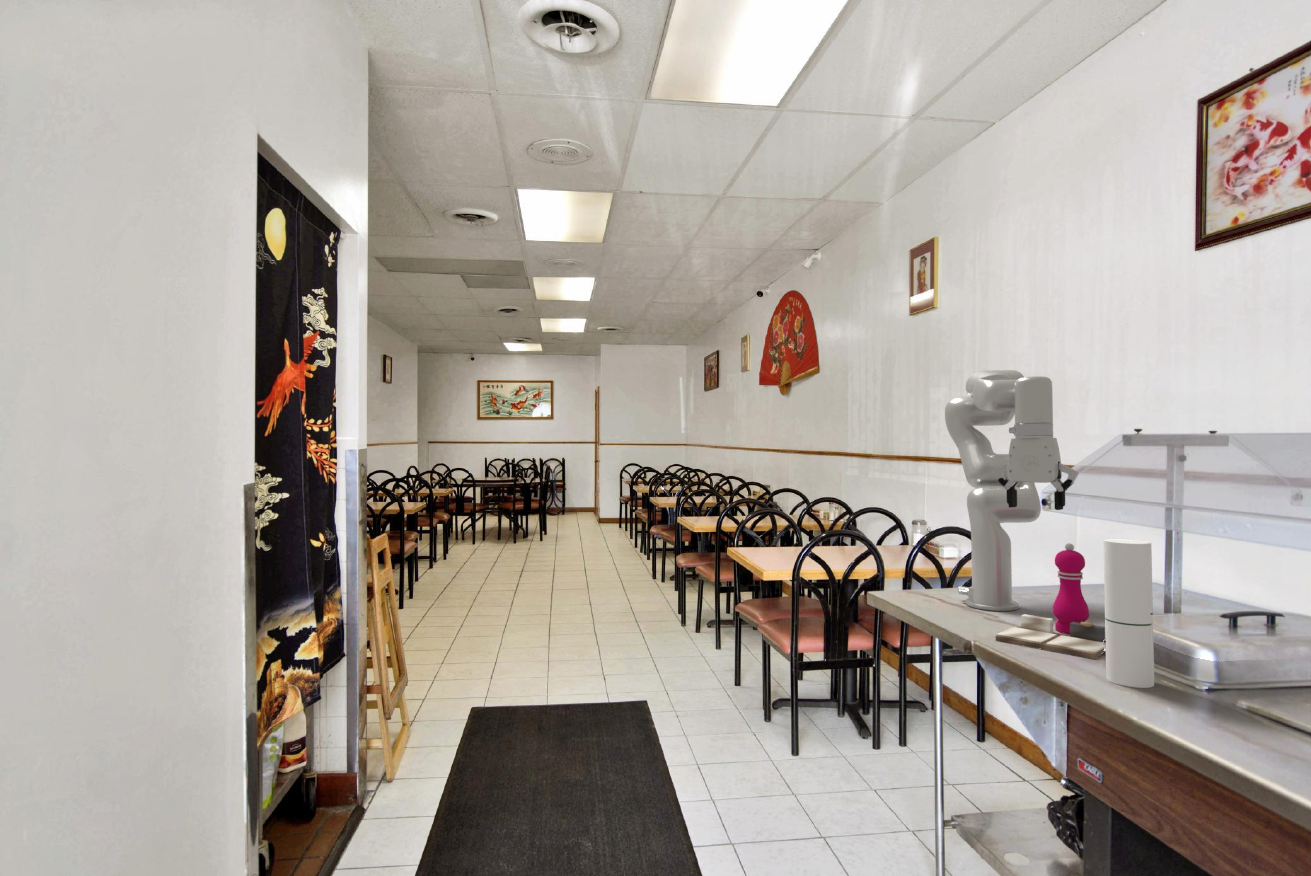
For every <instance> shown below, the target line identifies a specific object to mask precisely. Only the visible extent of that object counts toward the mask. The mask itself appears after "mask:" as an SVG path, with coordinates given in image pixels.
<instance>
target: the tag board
mask: <svg viewBox="0 0 1311 876" xmlns="http://www.w3.org/2000/svg"><path fill="white" fill-rule="evenodd" d="M1104 639H1105V626H1101V625H1095V624H1094V623H1093V622H1089V621H1088V622H1087V621H1085V622H1081V623H1076V622H1072V623H1070V634H1065V633H1061V632H1059V633H1058V632H1054V618H1051V617H1044V616H1039V615H1038V616H1037V615H1032V614H1025V613H1024V614H1022V615H1020V626H1012V627H1009V628H1007V629H1005V630H1003V631H1001V632H998V633H996V634H995V641H996V640H998V641H997V642H1003V643H1007V644H1012V643H1014V644H1013V645H1017V644H1018V645H1017V646H1022V645H1024V647H1027V646H1028V648H1029V647H1030V648H1033V647H1034V648H1033V649H1038V648H1041V649H1040V650H1043V649H1045V650H1044V651H1048V650H1051V651H1050V652H1054V651H1055V652H1054V653H1059V652H1061V653H1060V654H1064V653H1066V654H1065V655H1069V654H1070V656H1074V655H1076V657H1081V658H1085V657H1088V658H1087V659H1090V658H1092V659H1091V660H1096V659H1097V658H1099V657H1100V656H1099V655H1101V653H1102V652H1103V650H1104V647H1105V646H1103V645H1102V644H1101V643H1102V642H1103V640H1104ZM1098 656H1099V657H1098ZM1101 656H1102V655H1101ZM1096 657H1097V658H1096Z"/></svg>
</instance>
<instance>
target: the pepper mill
mask: <svg viewBox="0 0 1311 876" xmlns="http://www.w3.org/2000/svg"><path fill="white" fill-rule="evenodd" d="M1054 565H1055V567H1056V568H1057V569H1058V571H1057V577H1058V578H1059V590H1058V593H1057V595H1056V597H1055V600H1054V602H1053V605H1052V614H1053V616H1054V617H1055V618H1056V619H1057V620H1056V621H1055V624H1054V626H1055V627H1054V629H1055V631H1056V632H1057V633H1058V632H1059V633H1060V634H1065V633H1066V635H1070V623H1072V622H1076V623H1081V622H1087V620H1089V618H1090V609H1089V605H1088V603H1087V601H1086V600H1085V598H1084V595H1083V593H1082V586H1081V583H1082V580H1083V579H1084V577H1083V575H1084V573H1083V572H1082V571H1083V569H1085V566H1086V559H1085V556H1084V555H1083V554H1082V553H1080V552H1078V551H1076V550H1075V546H1074V545H1073V544H1072V543H1069V542H1068V543H1066V544H1065V546H1064V550H1061V551H1059V552H1057V554H1056V555H1055V557H1054Z"/></svg>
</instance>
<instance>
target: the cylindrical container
mask: <svg viewBox="0 0 1311 876" xmlns="http://www.w3.org/2000/svg"><path fill="white" fill-rule="evenodd" d="M1102 543H1103V580H1104V581H1103V584H1104V587H1103V589H1104V591H1103V592H1104V622H1105V623H1104V627H1105V641H1106V652H1105V676H1106V679H1107V681H1109V682H1110V683H1113V684H1116V685H1119V686H1123V687H1129V688H1136V689H1137V688H1138V689H1148V688H1153V687H1154V686H1155V655H1154V654H1155V652H1154V649H1155V648H1154V647H1155V646H1154V606H1153V605H1154V604H1153V603H1154V602H1153V600H1154V599H1153V564H1152V563H1153V562H1152V559H1153V556H1152V554H1153V553H1152V542H1151V541H1150V540H1149V541H1148V540H1144V539H1143V540H1142V539H1130V538H1103V542H1102Z"/></svg>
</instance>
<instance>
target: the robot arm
mask: <svg viewBox="0 0 1311 876" xmlns="http://www.w3.org/2000/svg"><path fill="white" fill-rule="evenodd" d="M965 391H966V393H967V395H968V396H967V395H966V396H958V397H956V398H952V399H950V400H949V401H948V402H947V403H946V405H945V408H944V420H945V421H944V422H945V425H946V429H947V431H948V433H949V436H950V438H951V440H952V442H953V443H954V444H955V446H956V448H957V449H958V452H959V453H958V454H959V458H960V461H961V465H962V469H963V472H964V476H965V479H966V481H967V483H968V485H969V486H971V487H972V488H973V489H971V490H970V491H969V492H968V494H967V497H966V506H967V507H966V508H967V513H968V518H969V524H970V540H971V541H970V543H971V586H969V587H967V586H962V585H959V586H958V588H957V592H958V594H959V595H966V596H968V598H966V600H965V604H966V605H967V606H969V607H971V608H974V609H978V610H984V611H995V612H996V611H997V612H1005V611H1006V612H1007V611H1008V612H1009V611H1011V612H1012V611H1015V610H1018V609H1019V608H1020V605H1019V602H1017V601H1015V600H1013V582H1012V581H1013V579H1012V541H1011V537H1010V536H1009V534H1008V533H1007V531H1006V530H1005V529H1004V528H1003V527H1002V525H1001V524H1004V523H1006V524H1007V523H1010V524H1011V523H1017V524H1019V523H1032V522H1035V521H1037V520H1038V518H1039V517H1040V515H1041V511H1042V507H1041V506H1042V504H1041V499H1040V496H1039V493H1038V489H1037V487H1036V484H1035V483H1037V484H1038V483H1041V484H1042V483H1043V484H1044V483H1045V484H1046V483H1047V484H1049V483H1050V484H1051V485H1052V486H1053V488H1055V489H1056V490H1055V491H1054V495H1053V496H1054V497H1053V499H1054V500H1053V501H1054V510H1056V511H1059V510H1060V511H1061V510H1064V507H1065V506H1066V491H1067V490H1068V489H1070V487H1072V486H1073V485H1074V483H1075V481H1076V479H1077V478H1078V476H1079V474H1080V473H1079V471H1078V470H1075V469H1074V468H1071V467H1070V466H1068V465H1066V464H1063V463H1062V460H1061V452H1060V446H1059V443H1058V439H1057V437H1054V415H1053V414H1054V413H1053V412H1054V411H1053V409H1054V408H1053V401H1054V400H1053V381H1052V380H1051V378H1049V377H1048V376H1041V375H1040V376H1039V375H1037V376H1024V375H1023V374H1022V373H1021V372H1020V371H1018V370H1016V369H1001V370H1000V369H999V370H997V369H996V370H980V371H979V370H978V371H977V372H974V373H972V374H971V375H969V377H968V378H967V380H966V382H965ZM1013 418H1014V425H1013V426H1012V427H1009V428H1008V433H1009V434H1013V435H1014V438H1011V439H1010V443H1009V447H1008V453H1005V454H1004V453H1003V454H1002V453H997V452H994V450H993V447H992V444H991V441H990V439H989V438H988V437H987V436H986V435H985V434H984V433H982V432H981V431H980V430H979V429H977V428H975V427H976V426H980V427H982V426H985V427H986V426H990V427H991V426H1004V425H1007V424H1009V423H1011V421H1012V420H1013ZM974 426H975V427H974ZM1062 473H1065V474H1067V475H1068V476H1067V478H1066V479H1065V480H1064V481H1062Z"/></svg>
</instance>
